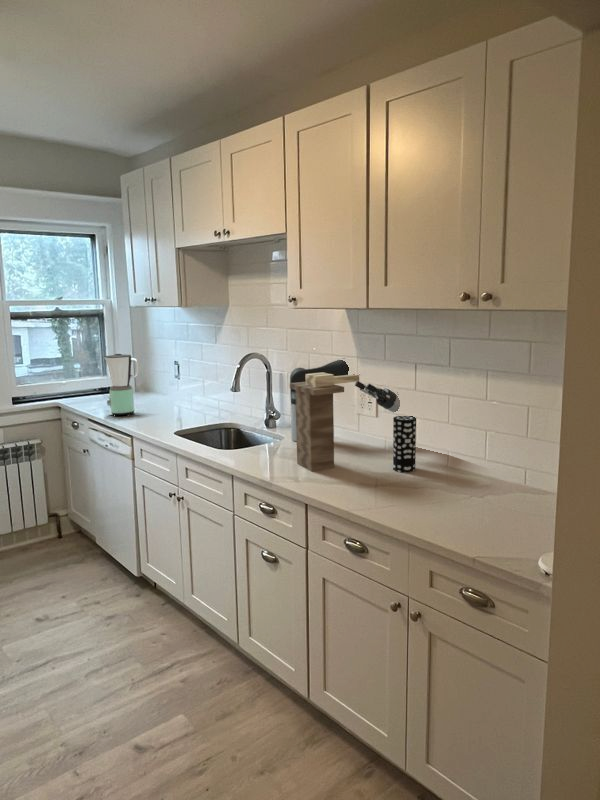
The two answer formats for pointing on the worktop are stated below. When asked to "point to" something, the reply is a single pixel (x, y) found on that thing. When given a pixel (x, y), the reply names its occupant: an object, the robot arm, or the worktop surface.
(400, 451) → the spotted tube
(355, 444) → the worktop surface
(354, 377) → the beige stepped hammer block
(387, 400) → the robot arm
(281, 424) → the worktop surface
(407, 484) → the worktop surface
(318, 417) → the wooden t-shaped post
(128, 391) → the mint green blender
